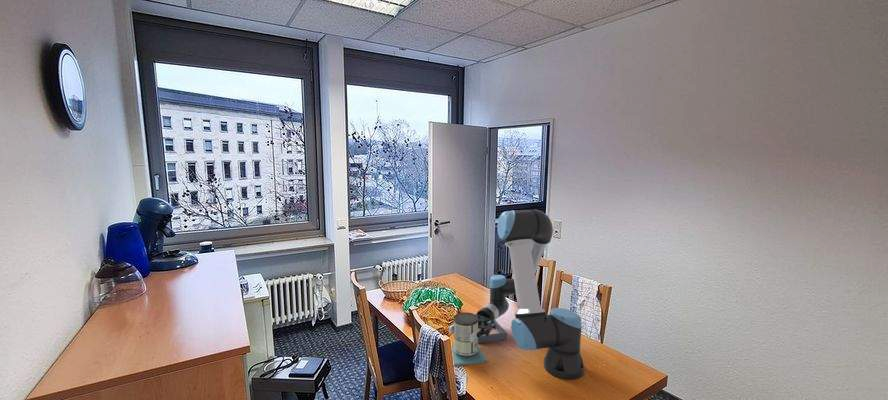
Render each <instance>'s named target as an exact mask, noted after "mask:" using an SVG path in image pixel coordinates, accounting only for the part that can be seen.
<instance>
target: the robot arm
mask: <svg viewBox="0 0 888 400" xmlns="http://www.w3.org/2000/svg"><path fill="white" fill-rule="evenodd" d="M496 226H497V227H496V228H497V229H496V230H497V235H498V238H499V239H500V240H502V241H504V245H505V246H506V247H507V248H508V249H509V258H510V263H511V270H512V276H513V277H512V278H507V277H506V276H505V275H503V274H493V275H492V276H490V280H489V303H487V304H486V305H485V306H483V307H482V308H480V309H479V310H478V311H477V312H476V313H475V315H477V316H478V325H479V326H480V325H481V328H480V329H478V330H476V331H475V332H474V333H472V334H471V341H474V340H475V339H476V338H477V337H480V336H482V335H486V336H488V335H489V334H491V331H492V329H493V328H495V327H494V320H496V321H497V319H499V318H501V316H503V315H504V314H506V312H507V311H508V310H509V308H510V304H509V302H508V300H507V296H513V295H515V297H516V303H517V310H516V311H515V312H514V316H515V318H513V319H512V320H511V325H510V329H511V334H512V337H513V339H514V341H515V343H516V345H517V346H518V347H519V348H520V349H521V350H523V351H536V350H540V349H547V348H548V349H547V351H546V353H545V356H544V358H543V367H544V369H545V370H546V371H547V373H549V374H551V375H552V376H554V377H557V378H559V379H563V380H564V379H565V380H575V379H576V380H577V379H579V378H581V377H582V376H584V375H585V364H584V360H583V358H582V353H581V338H582V329H583V326H582V319H581V316H580V315H579V314H578V313H576V312H575V311H572V310H571V309H567V308H564V307H563V308H561V307H554V308H551V309H550V311H549V314H546V313H547V312H546V310H545V309H544V308H542V306H541V302H540V296H539V291H538V290H539V289H538V283H537V277H536V273H537V271H538V267H539V265H540V262H541V261H542V256H543V255H544V252H545V249H546V248H547V247H546V246H547V245H548V244H549V243H550V242H551V241H552V238H553V234H554V228H553V227H554V226H553V222H552V221H551V219H550V217H549V216H548V215H547V214H546V213H545V212H544V211H542V210H539V209H525V210H524V209H520V210H517V209H516V210H513V209H512V210H506V211H503V212H501V214H500V215H499V217H498V221H497V225H496ZM484 326H487V328H484ZM452 333H454V322H453V323H452V324H451V325H450V326H449V327H448V334H452Z"/></svg>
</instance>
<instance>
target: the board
mask: <svg viewBox="0 0 888 400" xmlns="http://www.w3.org/2000/svg"><path fill="white" fill-rule="evenodd" d="M452 353H453V361H454V365H455V366H454V365H453V366H454V367H460V366H467V365H474V364H481V363H488V358H487V356H485V354H484V352H483V351H482V349H481V348H480V346H479V345H478V351H477V353H475V354H474V355H470V356H463V355H459V354H457V353H456V352H455V351H454V344H453V345H452Z"/></svg>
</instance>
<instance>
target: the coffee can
mask: <svg viewBox="0 0 888 400" xmlns="http://www.w3.org/2000/svg"><path fill="white" fill-rule="evenodd" d="M453 323H454V332H453V345H454V351H455V352H456V353H457V354H459V355H463V356H470V355H474V354H475V353H477V351H478V346H479V343H478V337H477V338H476V339H475V340H474V341H471V334H472V333H474V332H475V331H476V330H478V316H477V315H476V313H472V312H466V311H465V312H460V313H458V314H456V315H455V316H454V319H453Z"/></svg>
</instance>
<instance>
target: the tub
mask: <svg viewBox="0 0 888 400" xmlns="http://www.w3.org/2000/svg"><path fill="white" fill-rule="evenodd" d="M486 328H487V326H484V329H486ZM493 328H495V330H496V331H497V333H489V335H488V336H486V335H485V334H484V335H482V336H480V337H478V344H481V343H489V342H490V343H491V342H497V341H499V342H500V341H506V340H508V333H507V332H506V330H505V329H504V328H503V326H501V324H500V323H499V322H498V321H497V319H496V320H494V327H493ZM478 329H481V325H480V326H479V325H478Z"/></svg>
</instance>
